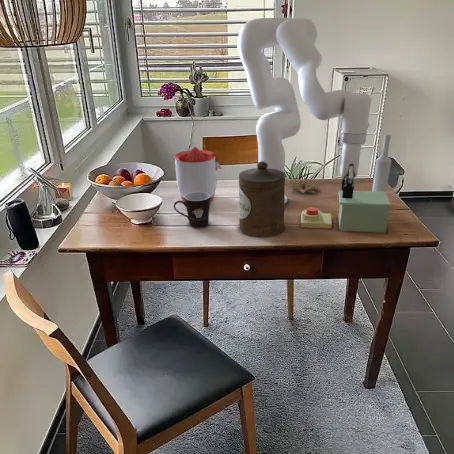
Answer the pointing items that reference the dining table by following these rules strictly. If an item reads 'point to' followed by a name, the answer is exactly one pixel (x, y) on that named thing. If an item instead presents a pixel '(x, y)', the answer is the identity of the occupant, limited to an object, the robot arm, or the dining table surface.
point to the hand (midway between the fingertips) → (346, 193)
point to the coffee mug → (196, 208)
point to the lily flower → (303, 187)
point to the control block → (316, 220)
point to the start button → (312, 211)
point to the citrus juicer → (196, 172)
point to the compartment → (363, 218)
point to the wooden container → (261, 201)
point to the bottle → (382, 167)
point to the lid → (365, 198)
